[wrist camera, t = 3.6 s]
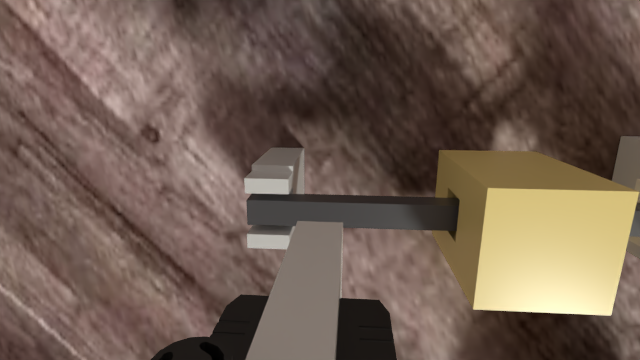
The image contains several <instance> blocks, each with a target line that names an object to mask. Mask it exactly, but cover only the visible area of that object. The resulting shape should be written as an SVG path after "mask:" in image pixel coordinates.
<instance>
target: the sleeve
mask: <svg viewBox="0 0 640 360" xmlns="http://www.w3.org/2000/svg"><path fill="white" fill-rule="evenodd" d="M638 195H639V191H636V190H634V189H631V188H628V187H626V186H623V185H621V184H618V183H616V182H613V181H610V180H608V179H605V178H603V177H600V176H598V175H595V174H592V173H590V172H587V171H585V170H582V169H580V168H577V167H574V166H572V165H569V164H567V163H564V162H562V161H559V160H556V159H554V158H551V157H549V156H546V155H544V154H541V153H538V152H531V151H473V150H439V159H438V170H437V182H436V194H435V197H437V198H458V199H459V200H460V203H459V212H458V222H457V231H438V230H432V234H433V236H434V238H435V240H436V242H437V244H438V245H439V247H440V249H441V251H442V253H443V255H444V257H445V258H446V260H447V262H448V264H449V266H450V268H451V269H452V271H453V273H454V275H455V277H456V279H457V281H458V282H459V284H460V286H461V288H462V290H463V292H464V294H465V295H466V297H467V299H468V301H469V303H470V305H471V306H472V308H473V309H474V310H496V311H519V312H541V313H564V314H586V315H608V316H611V314H612V309H613V305H614V300H615V296H616V292H617V287H618V283H619V279H620V274H621V270H622V265H623V261H624V257H625V252H626V248H627V243H628V239H629V235H630V230H631V226H632V221H633V217H634V213H635V208H636V204H637V200H638Z"/></svg>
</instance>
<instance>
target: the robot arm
mask: <svg viewBox="0 0 640 360" xmlns="http://www.w3.org/2000/svg"><path fill="white" fill-rule="evenodd" d="M342 251H343V222H315V221H297V224H296V226H295V229H294V232H293V234H292V237H291V240H290V242H289V245H288V248H287V250H286V253H285V256H284V258H283V261H282V264H281V266H280V269H279V272H278V274H277V277H276V280H275V282H274V285H273V288H272V290H271V293H270V296H258V295H240V296H239V297H237V298H236V299H235V300H234V301H232V302H231V303H230V304H228V305H227V306H226V308H225V310H224V312H223V314H222V315H221V317H220V319H219V323H217V325H216V326H215V328H214V330H213V334H212V335H211V336H210V337H192V338H187V339H184V340H180V341H177V342H174V343H172V344H171V345H169V346H167V347H165V348H164V349H162V350H160V351H159V352H158V353H157V354H156V355H155V356H154V357H153V358H152V359H151V360H397V358H396V352H395V346H394V339H393V333H392V326H391V320H390V313H389V312H388V310H387V309H386V308H385V307H384V306H383V304H382V303H381V302H380V301H379V300H368V299H348V298H341V297H342Z"/></svg>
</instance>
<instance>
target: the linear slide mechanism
mask: <svg viewBox="0 0 640 360" xmlns="http://www.w3.org/2000/svg"><path fill="white" fill-rule="evenodd" d="M612 181H613V182H616V183H618V184H621V185H623V186H626V187H628V188H631V189H634V190H636V191H639V195H638V200H637V204H636V208H635V213H634V217H633V221H632V226H631V230H630V235H629V239H628V243H627V248H626V251H627V252H629V253H631V254H632V255H634V256H636V257H637V258H639V259H640V136H621V139H620V143H619V148H618V153H617V158H616V163H615V168H614V172H613V177H612ZM244 182H245V193H252V194H251V196H250V197H249V198H248V199H247V220H248V225H253V226H252V227H251V229H250V230H249V232H248V233H247V245H248V248H265V249H287V248H288V245H289V242H290V240H291V237H292V234H293V232H294V229H295V226H296V224H297V221H315V222H343V228H374V229H406V230H438V231H457V222H458V212H459V203H460V200H459V199H458V198H437V197H398V196H359V195H320V194H304V148H273V147H271V148H270V149H269V150H268V151H267V152H266V153H265V154H263V155H262V156H261V157H260V158H259V159H258V160H257V161H256V162H254V163H253V164H252V171H251V172H250V173H249V174H248V175H247V176H246V177H245V178H244Z"/></svg>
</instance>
